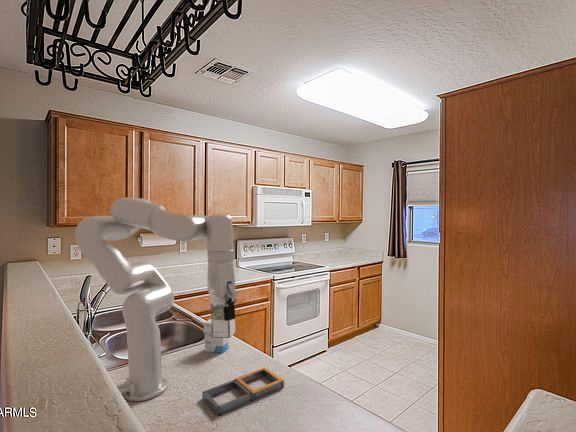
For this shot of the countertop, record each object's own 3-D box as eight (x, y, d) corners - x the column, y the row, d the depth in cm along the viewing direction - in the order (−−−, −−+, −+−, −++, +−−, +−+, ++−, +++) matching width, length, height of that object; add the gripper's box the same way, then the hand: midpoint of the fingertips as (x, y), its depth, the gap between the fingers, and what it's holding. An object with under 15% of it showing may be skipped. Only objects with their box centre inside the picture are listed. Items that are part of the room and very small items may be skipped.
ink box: (229, 348, 130) (227, 319, 130) (222, 353, 126) (221, 323, 126) (211, 346, 133) (209, 318, 133) (204, 351, 128) (203, 322, 129)
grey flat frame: (217, 416, 85) (217, 407, 85) (202, 398, 94) (202, 390, 94) (283, 387, 98) (283, 379, 98) (265, 374, 107) (264, 367, 107)
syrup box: (235, 331, 96) (234, 283, 96) (230, 338, 90) (228, 287, 90) (217, 331, 96) (215, 283, 96) (210, 338, 90) (208, 288, 91)
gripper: (197, 255, 98) (199, 312, 98) (221, 260, 84) (224, 326, 84) (220, 253, 102) (222, 307, 102) (246, 257, 88) (248, 320, 88)
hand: (223, 315), depth 93 cm, fingers closed on syrup box, 8 cm apart
